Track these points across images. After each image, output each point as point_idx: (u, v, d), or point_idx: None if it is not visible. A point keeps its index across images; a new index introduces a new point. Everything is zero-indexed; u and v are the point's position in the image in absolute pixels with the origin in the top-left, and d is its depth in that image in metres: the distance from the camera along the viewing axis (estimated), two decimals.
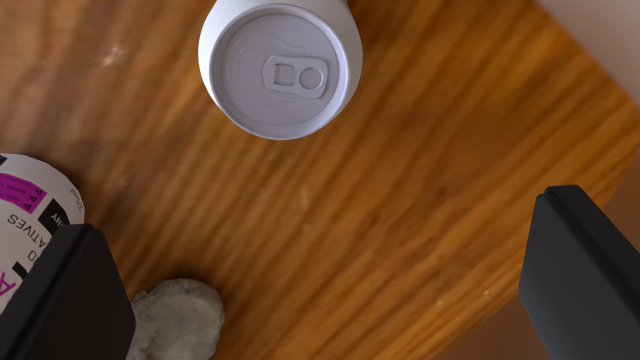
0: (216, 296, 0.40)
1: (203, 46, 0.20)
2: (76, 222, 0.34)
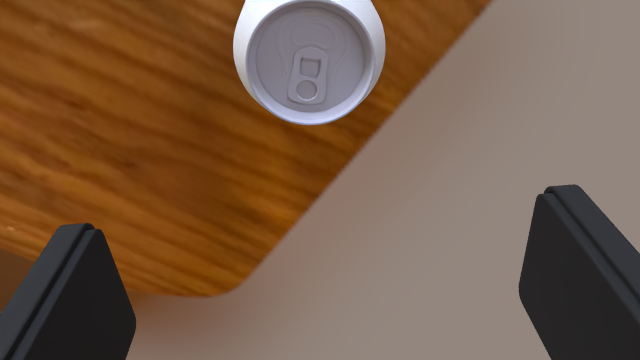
0: None
1: None
2: None
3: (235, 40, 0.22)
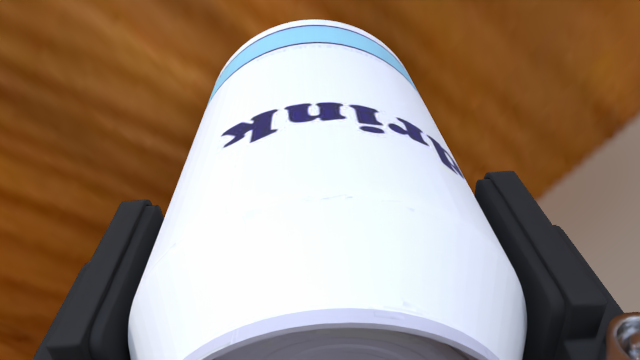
0: None
1: (398, 232, 0.07)
2: None
3: (130, 339, 0.08)
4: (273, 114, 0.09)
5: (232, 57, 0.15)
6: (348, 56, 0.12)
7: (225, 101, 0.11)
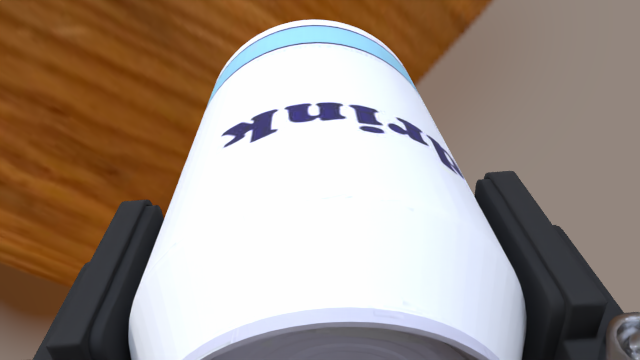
0: None
1: (398, 232, 0.07)
2: None
3: (130, 339, 0.08)
4: (273, 114, 0.09)
5: (232, 57, 0.15)
6: (347, 57, 0.12)
7: (225, 101, 0.11)
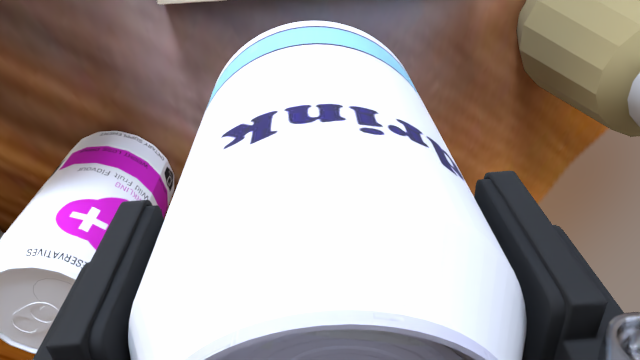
0: None
1: (398, 234, 0.07)
2: None
3: (130, 341, 0.08)
4: (273, 116, 0.09)
5: (232, 58, 0.15)
6: (347, 57, 0.12)
7: (225, 102, 0.11)
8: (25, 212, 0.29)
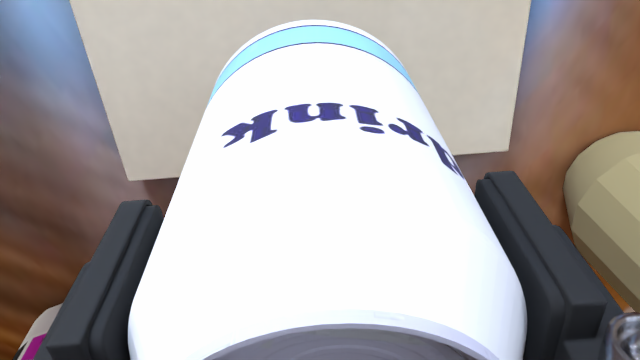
0: None
1: (399, 233, 0.07)
2: None
3: (130, 340, 0.08)
4: (273, 114, 0.09)
5: (232, 57, 0.15)
6: (348, 56, 0.12)
7: (225, 101, 0.11)
8: None
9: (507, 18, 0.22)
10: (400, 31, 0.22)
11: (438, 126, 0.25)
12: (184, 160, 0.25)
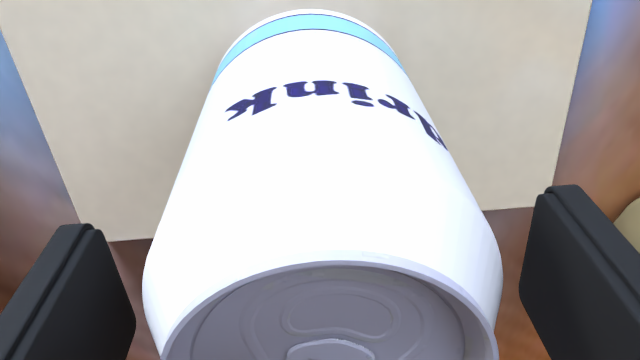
0: None
1: (384, 187, 0.08)
2: None
3: (144, 291, 0.09)
4: (272, 91, 0.10)
5: (233, 45, 0.16)
6: (342, 41, 0.13)
7: (227, 82, 0.12)
8: None
9: (554, 52, 0.18)
10: (421, 68, 0.18)
11: (464, 178, 0.20)
12: (156, 220, 0.21)
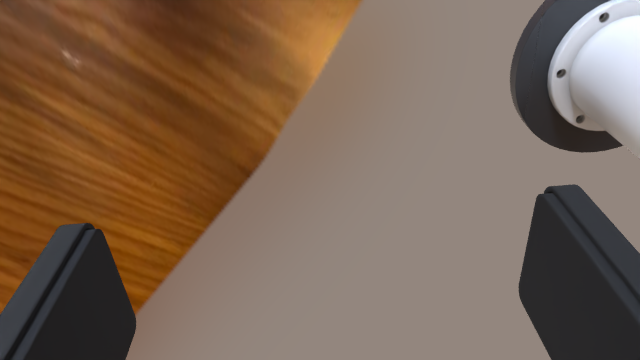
0: None
1: None
2: None
3: None
4: None
5: None
6: None
7: None
8: None
9: None
10: None
11: None
12: None
